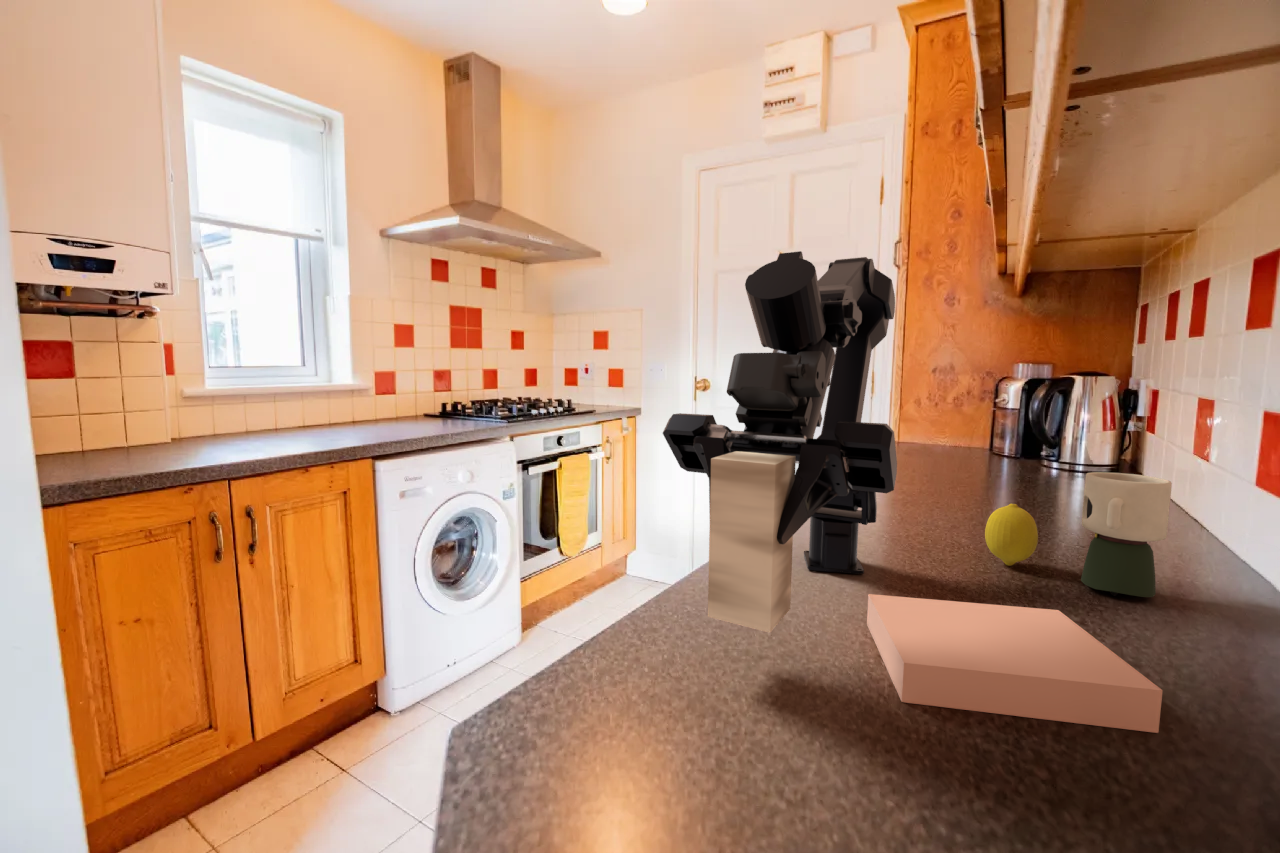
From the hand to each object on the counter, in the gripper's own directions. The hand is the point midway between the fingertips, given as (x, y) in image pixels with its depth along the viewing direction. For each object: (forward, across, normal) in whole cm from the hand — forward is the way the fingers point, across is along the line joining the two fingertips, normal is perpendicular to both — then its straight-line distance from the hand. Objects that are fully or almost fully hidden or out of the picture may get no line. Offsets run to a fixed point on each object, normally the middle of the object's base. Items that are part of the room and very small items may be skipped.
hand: (745, 535), depth 42 cm
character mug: (-20, +29, +36) cm, 50 cm away
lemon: (-22, +19, +39) cm, 49 cm away
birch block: (+4, 0, +6) cm, 7 cm away
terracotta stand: (0, +16, +17) cm, 23 cm away
